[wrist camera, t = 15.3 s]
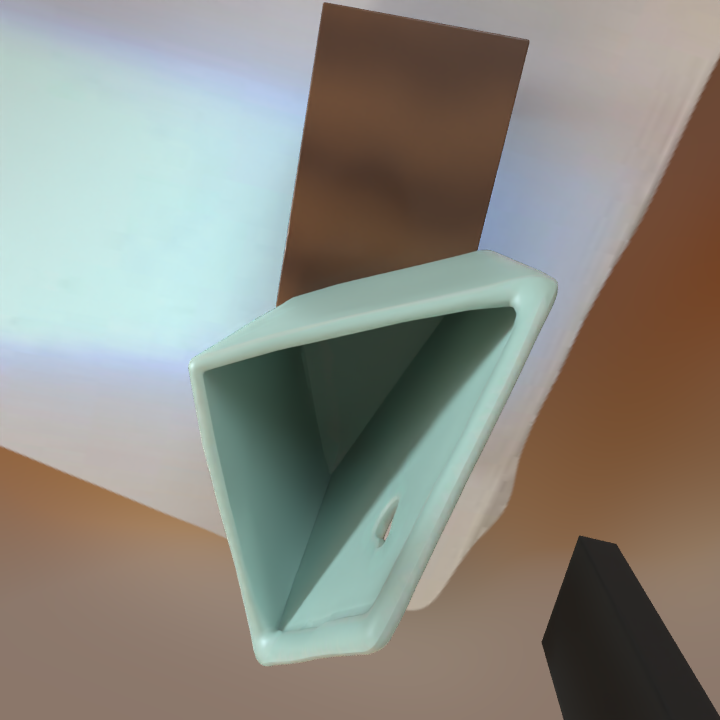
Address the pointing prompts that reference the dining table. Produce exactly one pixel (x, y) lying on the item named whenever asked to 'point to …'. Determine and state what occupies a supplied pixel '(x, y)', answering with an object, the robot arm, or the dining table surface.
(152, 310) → the dining table surface
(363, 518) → the planter
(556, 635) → the robot arm
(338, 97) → the shelf
